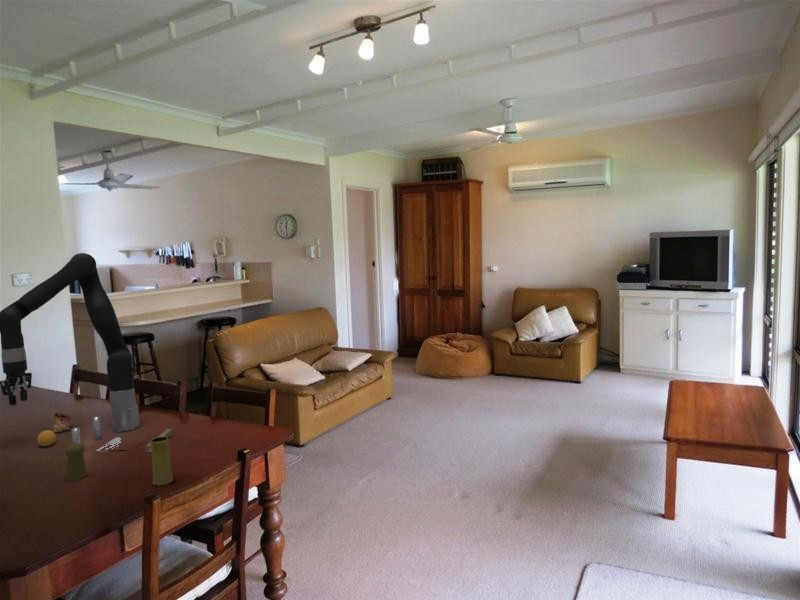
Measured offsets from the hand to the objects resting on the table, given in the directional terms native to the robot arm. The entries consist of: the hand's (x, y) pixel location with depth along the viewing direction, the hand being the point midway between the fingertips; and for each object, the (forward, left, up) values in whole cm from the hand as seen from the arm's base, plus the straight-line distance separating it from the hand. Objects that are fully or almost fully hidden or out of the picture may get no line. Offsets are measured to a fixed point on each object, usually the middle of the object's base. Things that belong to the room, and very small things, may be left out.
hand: (18, 402), depth 203 cm
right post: (-26, -7, -17) cm, 32 cm away
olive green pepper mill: (-40, +29, -18) cm, 52 cm away
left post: (-26, +7, -17) cm, 32 cm away
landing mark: (-40, 0, -17) cm, 43 cm away
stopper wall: (-54, 0, -17) cm, 56 cm away
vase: (-71, +34, -18) cm, 80 cm away
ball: (-10, 0, -14) cm, 17 cm away
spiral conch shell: (-3, -18, -18) cm, 26 cm away
